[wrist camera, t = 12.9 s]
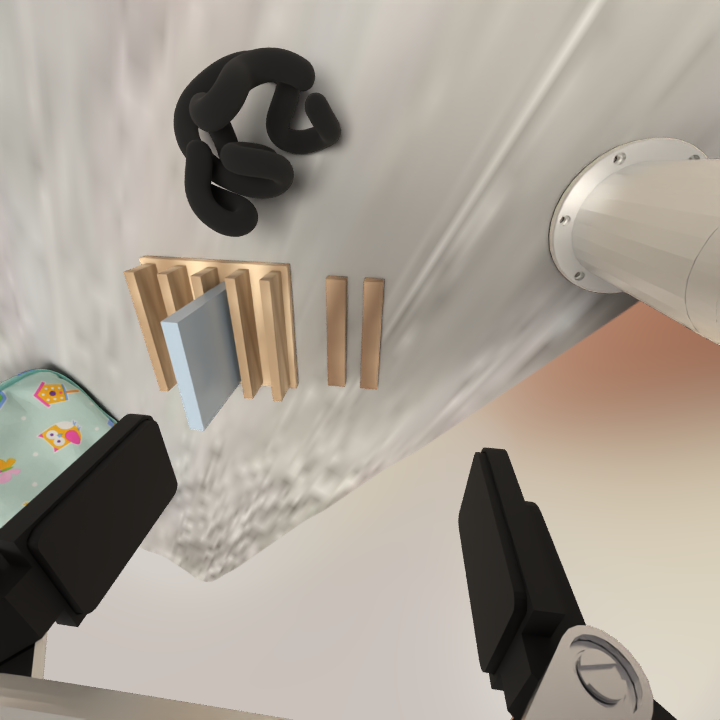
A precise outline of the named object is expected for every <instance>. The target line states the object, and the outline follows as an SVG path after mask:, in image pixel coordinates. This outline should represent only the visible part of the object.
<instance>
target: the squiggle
mask: <svg viewBox="0 0 720 720" xmlns="http://www.w3.org/2000/svg"><path fill="white" fill-rule="evenodd" d="M314 81H315V72H314V69H313V66H312V65H311V64H310V62H308V61H307V60H306V59H304V58H303V57H301V56H299V55H298V54H296V53H293V52H291V51H288V50H285V49H280V48H259V49H254V50H249V51H241V52H237V53H233V54H230V55H227V56H225V57H223V58H221V59H219V60H217V61H216V62H214V63H213V64H211V65H210V66H208V67H207V68H206V69H204V70H203V71H202V72H201V73H200V74H199V75H197V76H196V77H195V78H194V79H193V80H192V81H191V82H190V84H189V85H188V86H187V87H186V88H185V90H184V91H183V93H182V94H181V96H180V98H179V100H178V102H177V105H176V108H175V113H174V132H175V136H176V140H177V143H178V145H179V147H180V149H181V151H182V153H183V155H184V156H185V157H186V167H185V192H186V196H187V199H188V202H189V204H190V206H191V208H192V210H193V211H194V213H195V214H196V215H197V217H198V218H199V219H200V220H201V221H202V222H203V223H204V224H205V225H207V226H208V227H209V228H211V229H212V230H214V231H216V232H218V233H220V234H223V235H226V236H231V237H239V236H243V235H246V234H248V233H249V232H251V231H252V230H253V229H254V228H255V226H256V225H257V222H258V213H257V210H256V208H255V206H254V205H253V204H252V203H251V202H250V201H249V200H248V199H246V198H244V197H243V196H247V197H251V198H262V199H263V198H272V197H276V196H278V195H281V194H282V193H284V192H285V191H286V190H287V189H288V188H289V187H290V186H291V184H292V182H293V178H294V171H293V168H292V165H291V164H290V162H289V161H288V160H287V159H286V158H285V157H283V156H282V155H279V154H277V153H276V152H275V151H274V150H273V149H271V148H270V147H267V146H264V145H260V144H255V143H248V142H238V140H237V137H236V135H235V132H234V130H233V127H232V125H231V123H230V121H231V120H232V119H233V118H234V117H235V116H236V115H237V113H238V112H239V110H240V109H241V107H242V106H243V104H244V102H245V100H246V98H247V95H248V93H249V91H250V90H251V89H253V88H254V87H256V86H258V85H260V84H263V83H267V82H275V83H276V84H277V86H276V90H275V93H274V95H273V98H272V101H271V104H270V107H269V110H268V113H267V118H266V129H267V133H268V136H269V138H270V140H271V141H272V142H273V143H274V144H275V145H276V146H277V147H278V148H280V149H282V150H284V151H286V152H290V153H295V154H306V153H312V152H316V151H319V150H322V149H324V148H327V147H329V146H331V145H333V144H334V143H336V142H337V141H338V139H339V137H340V134H341V128H340V124H339V122H338V120H337V118H336V117H335V115H334V113H333V111H332V109H331V108H330V106H329V104H328V102H327V100H326V98H325V97H324V96H323V95H322V94H320V93H312V94H310V95H309V96H308V97H307V99H306V102H305V112H306V114H307V116H308V118H309V120H310V121H311V123H312V125H313V126H314V127H312V128H309V129H306V130H293V129H290V128H288V127H289V123H290V121H291V118H292V115H293V113H294V110H295V108H296V105H297V102H298V98H299V93H300V91H307V90H309V89H310V88H311V87H312V86H313V84H314ZM198 127H199V128H200V129H202V130H204V131H207V132H209V134H210V136H211V138H212V140H213V142H214V144H215V147H216V149H217V152H218V155H219V158H217V157H216V156H215V155H213V154H212V151H211V149H210V147H209V146H208V145H207V144H206V143H205V142H203V141H201V139H200V136H199V132H198ZM211 181H212V182H214V183H216V184H217V185H219V186H221V187H223V188H225V189H227V190H229V191H227V190H225V189H222V188H220V187H217V186H215V185H213V184H211ZM230 191H232V192H230ZM233 192H234V193H233ZM236 193H237V194H236ZM238 194H240V195H238ZM241 195H243V196H241Z"/></svg>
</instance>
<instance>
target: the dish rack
mask: <svg viewBox="0 0 720 720" xmlns="http://www.w3.org/2000/svg"><path fill="white" fill-rule="evenodd" d="M139 260H140V263H141V265H140V266H138V267H135V268H133V269H130V270H127V271H125V272H124V275H125V278H126V281H127V285H128V288H129V291H130V294H131V298H132V301H133V304H134V307H135V310H136V314H137V317H138V320H139V323H140V327H141V330H142V333H143V336H144V340H145V343H146V346H147V349H148V353H149V356H150V359H151V362H152V366H153V369H154V372H155V375H156V378H157V382H158V385H159V388H160V391H169V390H170V389H171V388H172V387H173V386H174V385H175V384H176V383H177V380H176V377H175V373H174V369H173V366H172V362H171V359H170V355H169V351H168V348H167V344H166V340H165V337H164V333H163V330H162V326H161V321H162V320H164V319H166V318H167V317H169V316H170V315H172V314H173V313H175V312H176V311H178V310H179V309H181V308H183V307H184V306H186V305H187V304H189V303H190V302H192V301H193V300H195V299H196V298H198V297H200V296H201V295H203V294H204V293H206V292H207V291H209V290H210V289H212V288H213V287H215V286H217V285H218V284H220V283H221V282H223V281H225V285H226V291H227V297H228V303H229V309H230V315H231V321H232V327H233V333H234V339H235V345H236V351H237V357H238V363H239V369H240V375H241V382H240V383H239V384H242V387H243V393H244V398H248V399H253V398H254V396H255V395H256V393H257V391H258V390H259V388H260V387H261V385H262V386H271V387H272V396H273V401H282V400H283V398H284V396H285V394H286V392H287V390H288V388H297V386H298V373H297V359H296V345H295V331H294V317H293V303H292V289H291V274H290V264H280V263H262V262H245V261H227V260H210V259H192V258H174V257H157V256H143V257H140V258H139Z"/></svg>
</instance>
